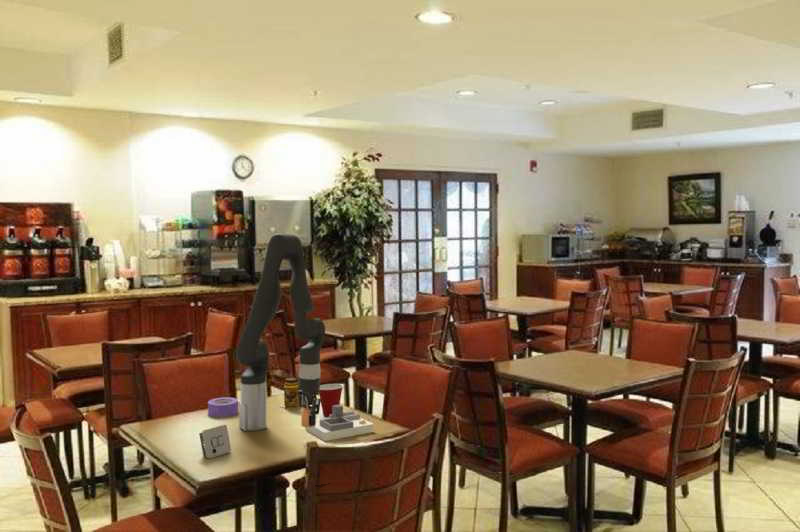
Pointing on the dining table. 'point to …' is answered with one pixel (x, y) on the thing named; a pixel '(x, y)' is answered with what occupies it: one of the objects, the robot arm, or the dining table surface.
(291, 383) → the condiment
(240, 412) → the robot arm
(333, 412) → the breaker toggle
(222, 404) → the tape roll
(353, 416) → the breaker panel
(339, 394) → the plastic cup
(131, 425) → the dining table surface
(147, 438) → the dining table surface
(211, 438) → the electrical switch
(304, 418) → the cap
